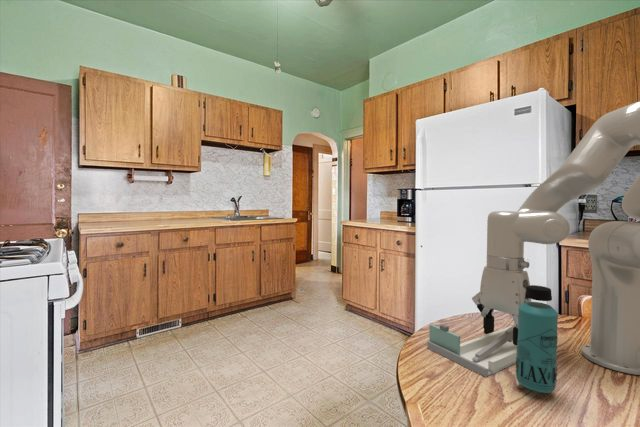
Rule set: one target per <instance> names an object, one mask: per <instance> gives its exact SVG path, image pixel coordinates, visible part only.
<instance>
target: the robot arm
mask: <svg viewBox="0 0 640 427" xmlns="http://www.w3.org/2000/svg"><path fill="white" fill-rule="evenodd" d="M639 145H640V100H639V101H637V102H636V101H635V102H633V103H630V104H628V105H625V106H622V107H620V108H617V109H615V110H612V111H609V112H607V113H605V114H603V115H602V116H600V117H599V118H598V119H597V120H596V121H595V122H594V123H593V124H592V126H591V127H590V128H589V129H588V131H587V132H586V133H585V135H584V136H583V137H582V139H581V140H580V141H579V142H578V144H577V145H576V146H575V148H574V149H573V150H572V152H570V154H569V155H568V157H567V158H566V160H564V162H563V163H562V165H560V167H559V168H558V169H557V170H555V171H554V172H553V173H552V174H550V176H548V177H547V178H546V179H545V180H544V181H543V182H542V183H541V184H540V185H538V186H537V187H536V188H535V189H534V190H533V191H532V192H531V193H530V194H529V196H528V197H527V198H526V199H525V201H524V202H523V203H522V204H521V205H520V206H519V209H518V210H517V211H506V210H502V211H501V210H500V211H499V210H496V211H491V212H490V213H489V214H488V215H487V220H486V221H487V223H486V224H487V225H486V226H487V227H486V228H487V229H486V232H487V233H486V266H484V268H483V269H482V274H481V279H480V280H481V281H480V288H479V289H480V290H479V292H478V293H476V294H475V295H474V296H472V297H471V299H472V302H473V303H474V304H475V305H476V308H477V310H478V311H479V312H480V315H481V317H482V318H483V323H482V324H483V325H482V327H483V333H484V335H487V334H490V333H492V332H495V316H494V315H493V314H494V311H497V312H501V313H505V314H508V315H511V317H512V320H513V323H514V324H515V325H516V327H514V328H513V344H514V345H517V340H518V315H519V310H518V307H519V306H520V305H522V304H523V303H525V302H532V299H529V298H527V297H525V293H526V287H527V286H529V285H531V283H530V278H529V274H528V271H526V270H524V269H528V268H529V267H530V262H529V261H526V260H525V257H524V251H525V250H524V248H525V243H526V242H527V243H533V244H539V245H540V244H541V245H554V244H557V243H560V242H562V241H564V240H565V239H566V238H567V237H568V236H569V234H570V230H571V227H570V223H569V221H568V220H567V218H566V217H565V216H563V215H562V214H560V213H557V212H558V211H560V209H562V208H563V207H564V206H566V204H568V203H569V202H571V201H573V200H575V199H576V198H578V197H580V196H583V195H585V194H587V193H588V194H589V192H592V191H594V190H595V189H597V188H599V187H600V186H601V185H602V184H604V182H606V180H607V179H608V178H609V176H610V175H611V173H612V172H614V170H615V168H616V167H617V166H618V164H619V163H620V162H621V160H623V159H624V157H625V156H626V154H628V152H629V151H630V149H632V148H633V147H634V146H639ZM621 200H622V201H621V208H622V211H623V213H624V214H625V215H627V216H628V217H629V218H632V219H635V220H637V221H640V172H639V173H638V174H637V176H636V178H635V179H634V181H633V182H632V183H631V185H630V186H629V188H628V189H627V191H626V192H625V194H624V195H623V198H622V199H621ZM637 221H624V220H622V221H621V220H616V221H615V220H613V221H608V222H604V223H602V224H599V225H598V226H596V227H595V228H593V230H592V231H591V232H590V234H589V238H588V244H587V246H588V253H589V258H590V262H591V263H590V264H591V277H592V278H591V303H590V306H591V309H590V339H589V340H590V343H587V344H584V345H582V346H581V350H580V351H581V354H582V355H583V356H584V357H585V358H586V359H587V360H589V361H591V362H593V363H594V364H597V365H599V366H601V367H604V368H607V369H610V370H612V371H616V372H619V373H620V372H621V373H624V374H630V375H636V376H640V222H637Z"/></svg>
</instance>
